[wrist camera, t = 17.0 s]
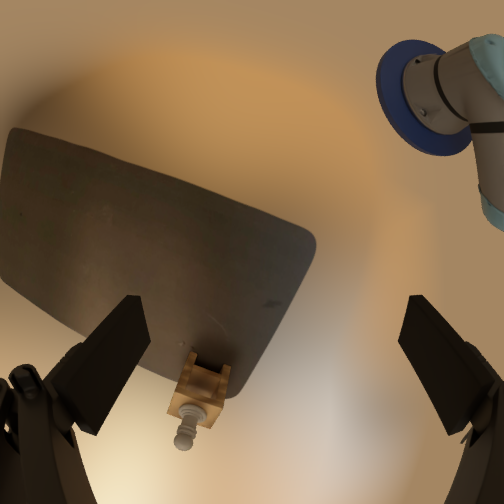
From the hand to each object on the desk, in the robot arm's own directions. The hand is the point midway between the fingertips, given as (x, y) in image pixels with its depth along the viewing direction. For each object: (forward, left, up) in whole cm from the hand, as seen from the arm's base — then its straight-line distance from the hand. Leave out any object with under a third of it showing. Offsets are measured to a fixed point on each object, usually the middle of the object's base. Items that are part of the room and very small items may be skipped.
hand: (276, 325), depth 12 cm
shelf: (+14, +34, -33) cm, 49 cm away
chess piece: (+14, +34, -21) cm, 42 cm away
